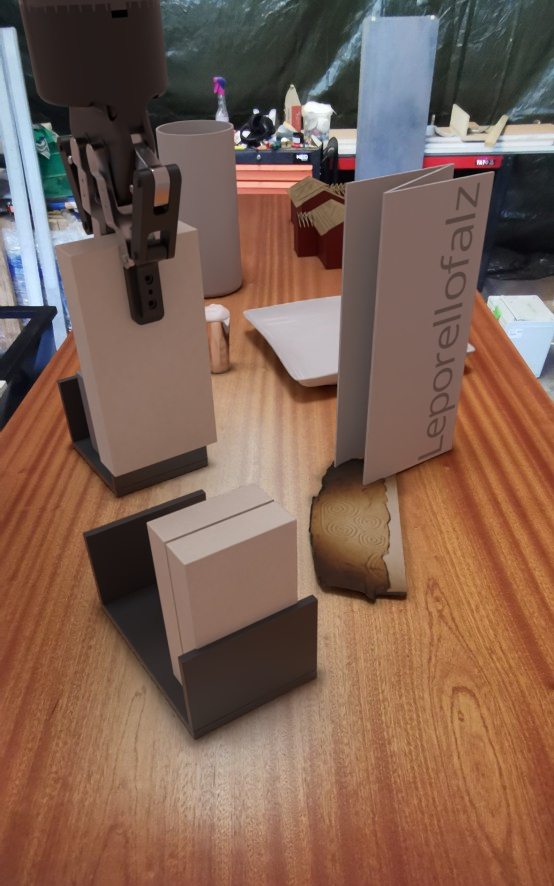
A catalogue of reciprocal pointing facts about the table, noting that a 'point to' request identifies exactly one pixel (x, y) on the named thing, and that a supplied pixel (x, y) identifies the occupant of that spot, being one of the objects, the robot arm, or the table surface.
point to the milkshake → (218, 337)
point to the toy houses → (318, 220)
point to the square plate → (305, 337)
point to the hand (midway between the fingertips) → (137, 312)
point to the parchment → (358, 532)
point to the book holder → (209, 601)
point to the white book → (140, 353)
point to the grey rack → (88, 449)
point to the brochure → (406, 313)
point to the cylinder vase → (207, 196)
